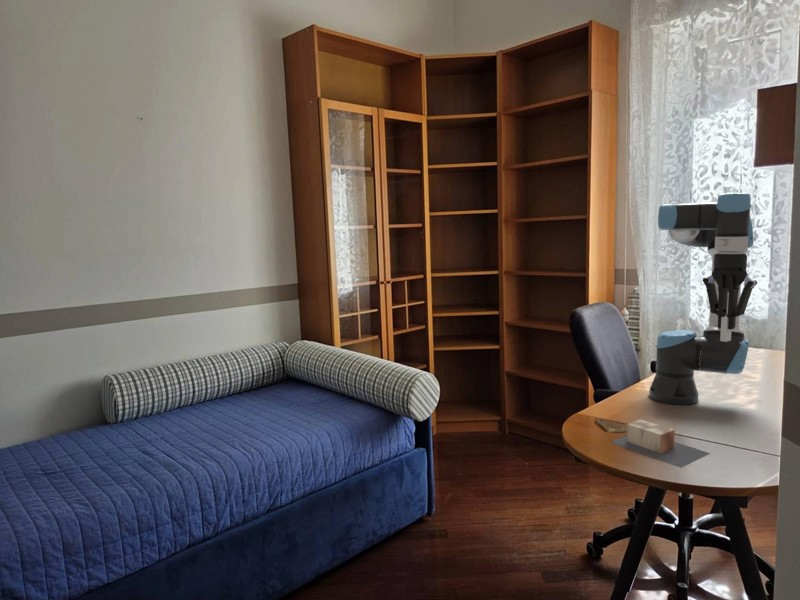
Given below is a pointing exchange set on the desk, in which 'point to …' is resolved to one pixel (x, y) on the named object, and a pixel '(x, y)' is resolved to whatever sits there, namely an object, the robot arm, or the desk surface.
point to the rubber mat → (674, 456)
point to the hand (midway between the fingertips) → (725, 340)
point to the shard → (612, 425)
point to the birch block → (650, 436)
